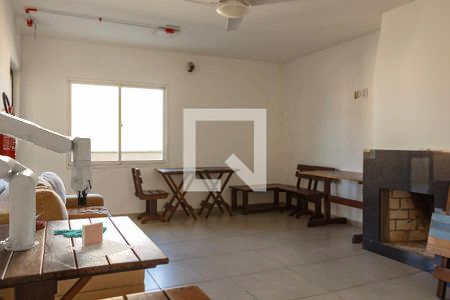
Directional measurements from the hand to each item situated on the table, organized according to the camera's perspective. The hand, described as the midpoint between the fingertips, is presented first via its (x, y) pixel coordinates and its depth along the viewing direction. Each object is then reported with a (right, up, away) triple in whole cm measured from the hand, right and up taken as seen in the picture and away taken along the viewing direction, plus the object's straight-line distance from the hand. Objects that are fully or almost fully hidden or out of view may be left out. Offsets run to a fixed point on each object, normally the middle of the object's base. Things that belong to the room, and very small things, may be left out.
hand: (82, 205), depth 155 cm
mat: (+12, -17, -9) cm, 23 cm away
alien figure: (-5, -17, +15) cm, 23 cm away
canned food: (-35, -16, +25) cm, 46 cm away
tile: (+6, -16, -5) cm, 18 cm away
